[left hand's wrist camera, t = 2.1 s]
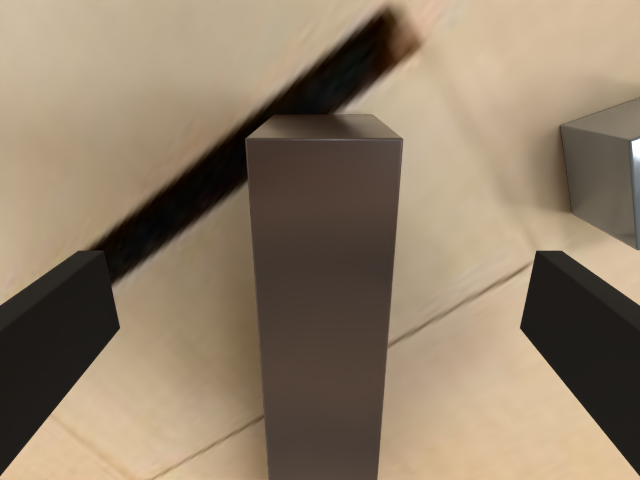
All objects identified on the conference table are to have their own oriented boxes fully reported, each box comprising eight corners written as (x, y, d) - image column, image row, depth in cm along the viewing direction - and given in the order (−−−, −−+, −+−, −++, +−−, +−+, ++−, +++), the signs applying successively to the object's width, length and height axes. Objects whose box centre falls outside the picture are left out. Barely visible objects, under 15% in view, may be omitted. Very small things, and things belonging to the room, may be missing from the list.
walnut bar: (273, 114, 20) (244, 137, 13) (373, 114, 20) (403, 138, 13) (288, 480, 30) (277, 613, 23) (356, 480, 30) (367, 614, 23)
